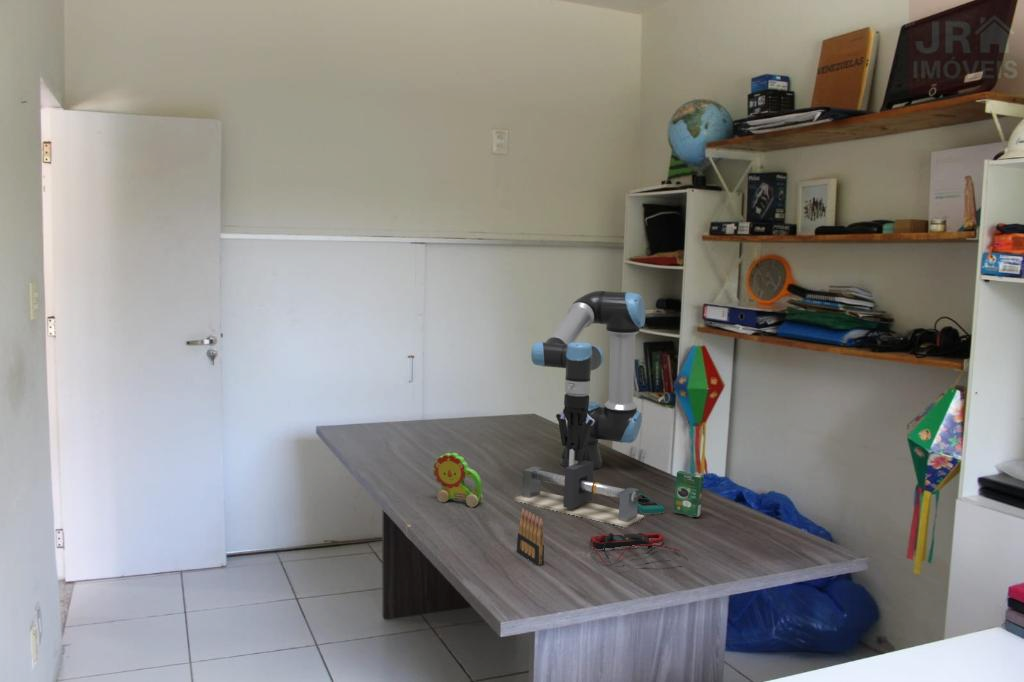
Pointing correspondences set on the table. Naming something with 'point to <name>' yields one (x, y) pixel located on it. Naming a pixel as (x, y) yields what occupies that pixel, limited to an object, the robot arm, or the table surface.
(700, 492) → the coffee box
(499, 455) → the table surface
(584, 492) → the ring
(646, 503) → the digital multimeter
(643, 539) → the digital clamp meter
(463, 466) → the toy lion
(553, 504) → the board
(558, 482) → the pipe
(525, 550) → the ammunition clip
